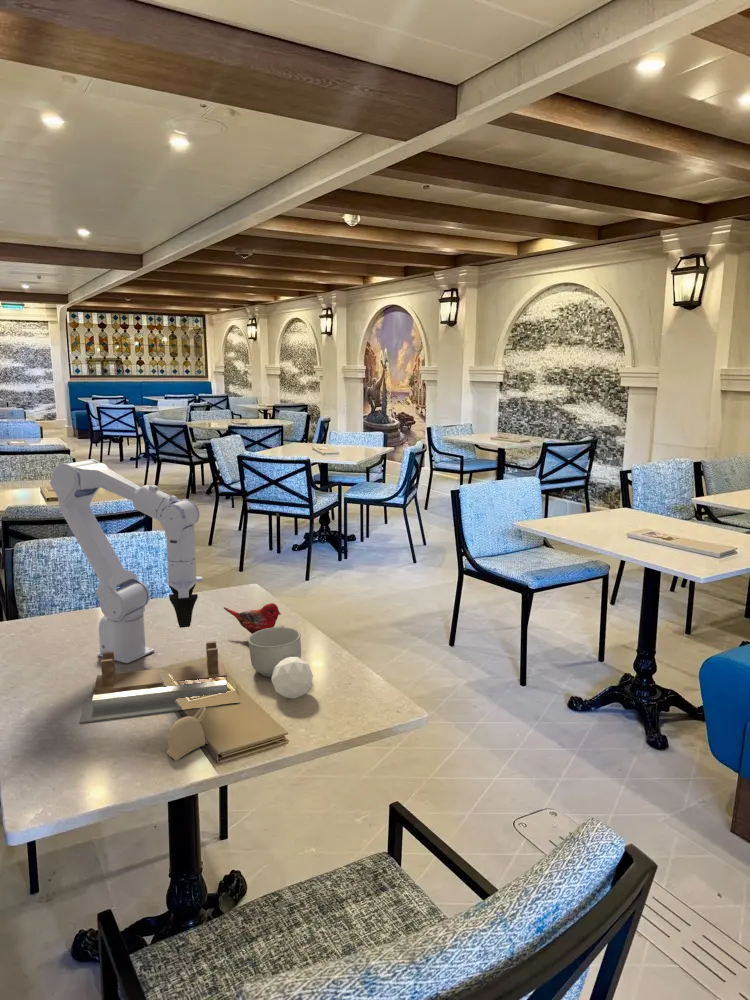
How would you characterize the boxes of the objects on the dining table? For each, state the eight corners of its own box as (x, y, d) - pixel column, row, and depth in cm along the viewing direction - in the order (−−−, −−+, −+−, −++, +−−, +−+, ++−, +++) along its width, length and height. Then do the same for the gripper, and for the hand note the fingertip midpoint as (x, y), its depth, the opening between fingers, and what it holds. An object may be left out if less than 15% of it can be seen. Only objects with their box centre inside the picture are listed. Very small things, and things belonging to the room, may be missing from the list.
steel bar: (93, 711, 126) (92, 700, 125) (94, 706, 128) (93, 695, 127) (227, 695, 133) (227, 684, 132) (226, 690, 135) (226, 679, 134)
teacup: (291, 684, 138) (291, 647, 137) (240, 679, 140) (239, 642, 139) (312, 657, 151) (311, 622, 150) (265, 653, 154) (264, 619, 152)
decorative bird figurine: (277, 649, 156) (276, 607, 154) (219, 633, 165) (218, 593, 163) (285, 645, 158) (284, 603, 156) (228, 630, 167) (227, 590, 166)
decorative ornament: (159, 753, 113) (158, 723, 112) (201, 733, 119) (200, 704, 118) (175, 762, 110) (173, 730, 109) (216, 740, 117) (215, 711, 116)
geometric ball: (303, 707, 134) (327, 680, 132) (272, 706, 129) (295, 677, 126) (289, 677, 139) (311, 650, 137) (257, 674, 133) (280, 646, 131)
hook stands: (94, 695, 133) (92, 664, 132) (97, 680, 139) (95, 651, 138) (226, 679, 140) (225, 650, 139) (223, 666, 147) (222, 638, 145)
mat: (79, 723, 122) (79, 722, 122) (84, 701, 130) (84, 699, 130) (240, 703, 130) (240, 701, 130) (235, 683, 138) (235, 681, 138)
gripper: (203, 566, 139) (205, 630, 141) (199, 549, 152) (201, 608, 155) (166, 568, 137) (169, 634, 139) (166, 551, 150) (168, 610, 153)
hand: (184, 620), depth 147 cm, fingers open, 7 cm apart
